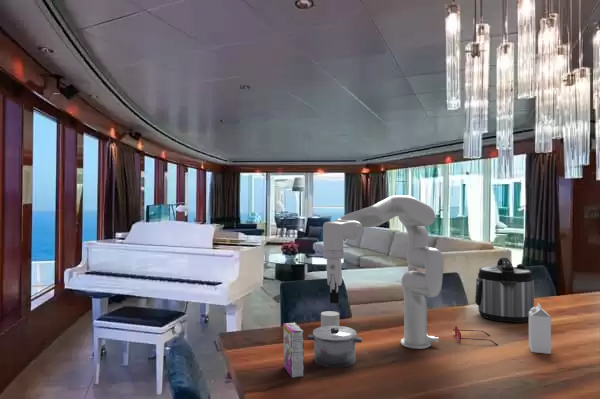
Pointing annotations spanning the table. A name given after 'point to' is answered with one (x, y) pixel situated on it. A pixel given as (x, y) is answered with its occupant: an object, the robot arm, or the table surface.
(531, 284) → the pressure cooker
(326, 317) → the cup
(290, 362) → the candy bar box
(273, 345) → the table surface
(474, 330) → the glasses
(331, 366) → the pot
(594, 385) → the table surface
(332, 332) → the lid
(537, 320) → the milk carton
